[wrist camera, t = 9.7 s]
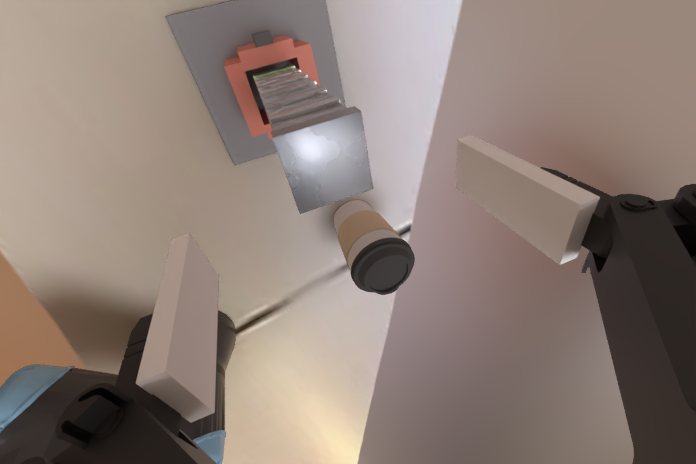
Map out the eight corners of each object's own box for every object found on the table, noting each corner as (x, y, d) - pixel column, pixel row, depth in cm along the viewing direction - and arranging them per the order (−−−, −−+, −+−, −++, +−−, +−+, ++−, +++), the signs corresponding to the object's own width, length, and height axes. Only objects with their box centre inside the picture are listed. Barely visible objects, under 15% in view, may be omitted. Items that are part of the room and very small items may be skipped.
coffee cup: (324, 199, 47) (356, 258, 36) (378, 188, 49) (424, 242, 38) (329, 244, 53) (357, 308, 41) (377, 233, 55) (417, 291, 43)
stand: (234, 162, 40) (235, 186, 34) (166, 16, 30) (152, 16, 24) (347, 127, 42) (365, 144, 36) (319, -20, 32) (338, -28, 26)
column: (266, 121, 31) (299, 213, 17) (250, 75, 29) (272, 137, 14) (306, 109, 32) (373, 188, 17) (294, 63, 29) (360, 111, 15)
